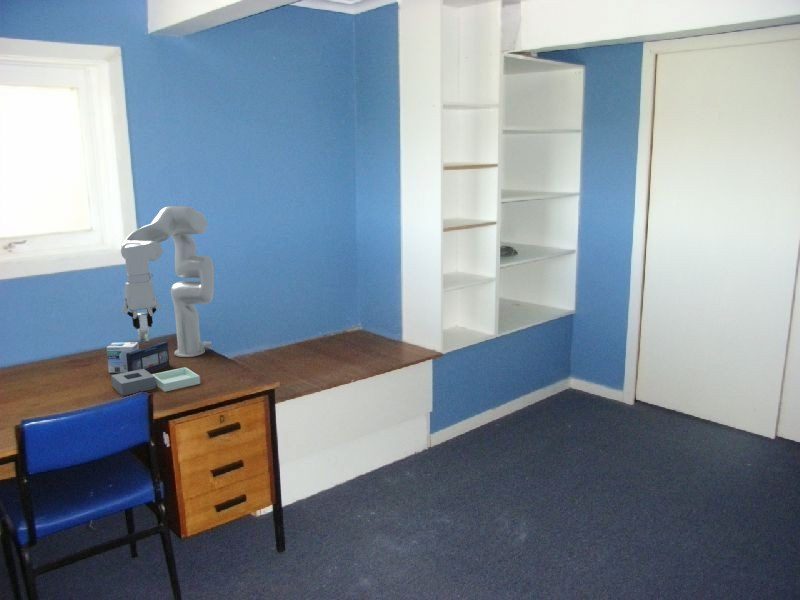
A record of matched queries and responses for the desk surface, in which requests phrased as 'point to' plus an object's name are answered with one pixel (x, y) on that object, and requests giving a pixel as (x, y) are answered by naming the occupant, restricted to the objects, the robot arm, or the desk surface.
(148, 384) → the pin holder
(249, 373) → the desk surface
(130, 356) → the vhs cassette tape
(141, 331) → the steel pin
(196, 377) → the tray
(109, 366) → the light bulb box
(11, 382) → the desk surface
